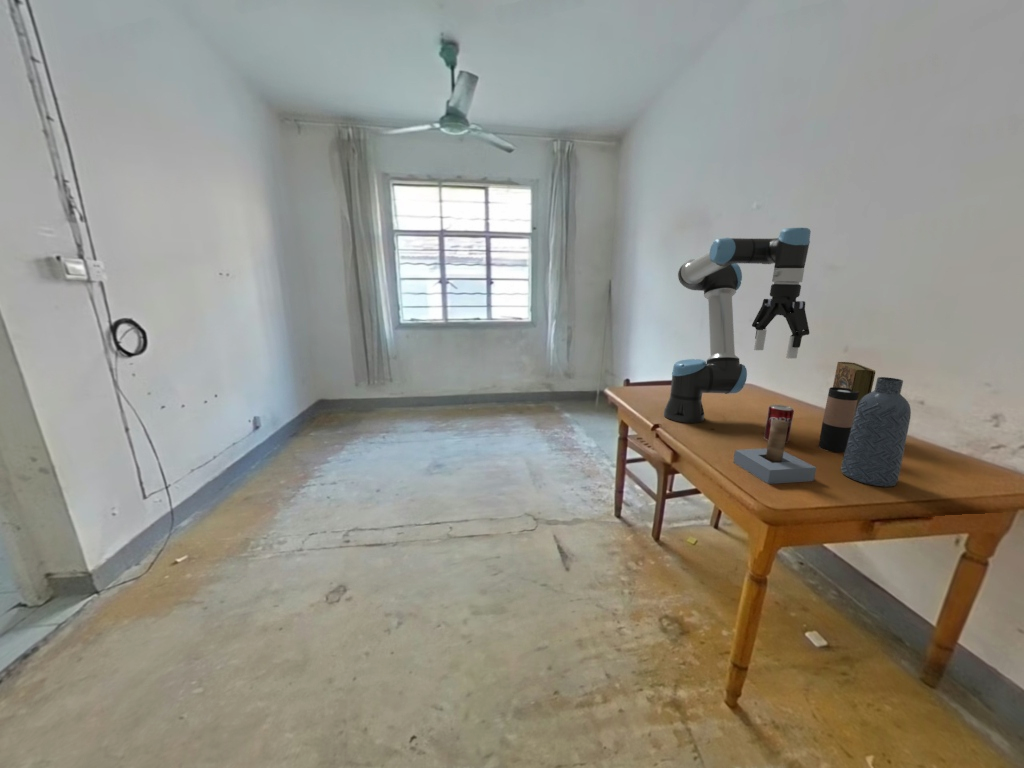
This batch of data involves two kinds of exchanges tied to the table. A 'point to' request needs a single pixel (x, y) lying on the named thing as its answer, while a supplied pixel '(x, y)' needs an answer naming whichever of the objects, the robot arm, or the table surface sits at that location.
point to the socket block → (774, 467)
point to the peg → (776, 441)
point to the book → (854, 378)
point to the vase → (878, 435)
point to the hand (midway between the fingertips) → (774, 354)
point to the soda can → (779, 418)
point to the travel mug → (838, 419)
